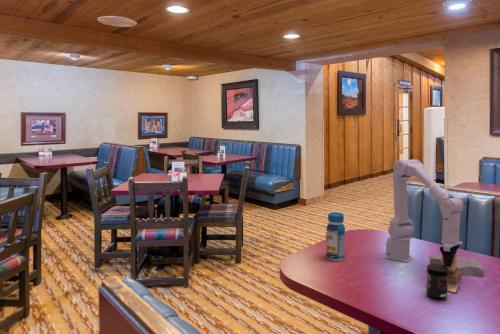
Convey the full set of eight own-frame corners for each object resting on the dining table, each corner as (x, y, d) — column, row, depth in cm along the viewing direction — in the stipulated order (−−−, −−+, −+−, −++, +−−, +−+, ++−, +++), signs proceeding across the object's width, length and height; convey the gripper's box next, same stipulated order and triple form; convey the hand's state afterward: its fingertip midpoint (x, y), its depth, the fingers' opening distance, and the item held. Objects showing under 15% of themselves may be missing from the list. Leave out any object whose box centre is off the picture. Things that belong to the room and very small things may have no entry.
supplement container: (435, 290, 137) (436, 262, 136) (451, 298, 131) (453, 269, 130) (421, 294, 135) (422, 265, 133) (437, 302, 129) (438, 272, 127)
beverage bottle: (347, 261, 167) (347, 216, 164) (327, 261, 167) (327, 216, 164) (342, 254, 175) (343, 211, 172) (324, 254, 175) (324, 211, 173)
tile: (435, 289, 138) (435, 287, 138) (439, 282, 144) (439, 281, 144) (456, 293, 134) (456, 292, 134) (459, 286, 140) (459, 285, 140)
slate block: (430, 270, 156) (430, 258, 155) (429, 266, 160) (429, 254, 159) (442, 271, 154) (443, 259, 153) (441, 267, 158) (441, 255, 157)
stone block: (459, 280, 150) (486, 276, 148) (457, 268, 150) (484, 264, 148) (449, 269, 162) (474, 266, 160) (447, 258, 161) (472, 254, 159)
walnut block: (435, 280, 146) (435, 272, 145) (441, 275, 151) (441, 266, 151) (455, 286, 141) (456, 277, 141) (460, 280, 146) (461, 271, 146)
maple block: (440, 269, 145) (441, 256, 144) (443, 265, 149) (443, 252, 148) (454, 271, 142) (454, 258, 142) (456, 267, 146) (456, 255, 145)
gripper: (459, 236, 135) (457, 272, 137) (465, 226, 147) (463, 260, 149) (437, 232, 139) (436, 268, 141) (445, 223, 151) (443, 256, 153)
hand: (448, 264), depth 145 cm, fingers closed on maple block, 4 cm apart
